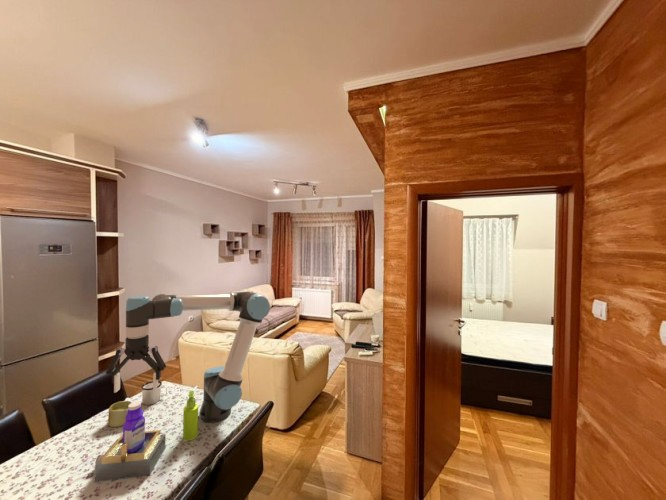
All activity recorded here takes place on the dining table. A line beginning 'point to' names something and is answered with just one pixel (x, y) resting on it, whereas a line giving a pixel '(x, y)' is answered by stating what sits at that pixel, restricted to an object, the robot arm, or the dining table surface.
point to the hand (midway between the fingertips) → (136, 389)
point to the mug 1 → (118, 413)
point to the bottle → (134, 428)
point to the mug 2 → (151, 393)
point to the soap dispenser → (190, 419)
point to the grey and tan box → (130, 458)
